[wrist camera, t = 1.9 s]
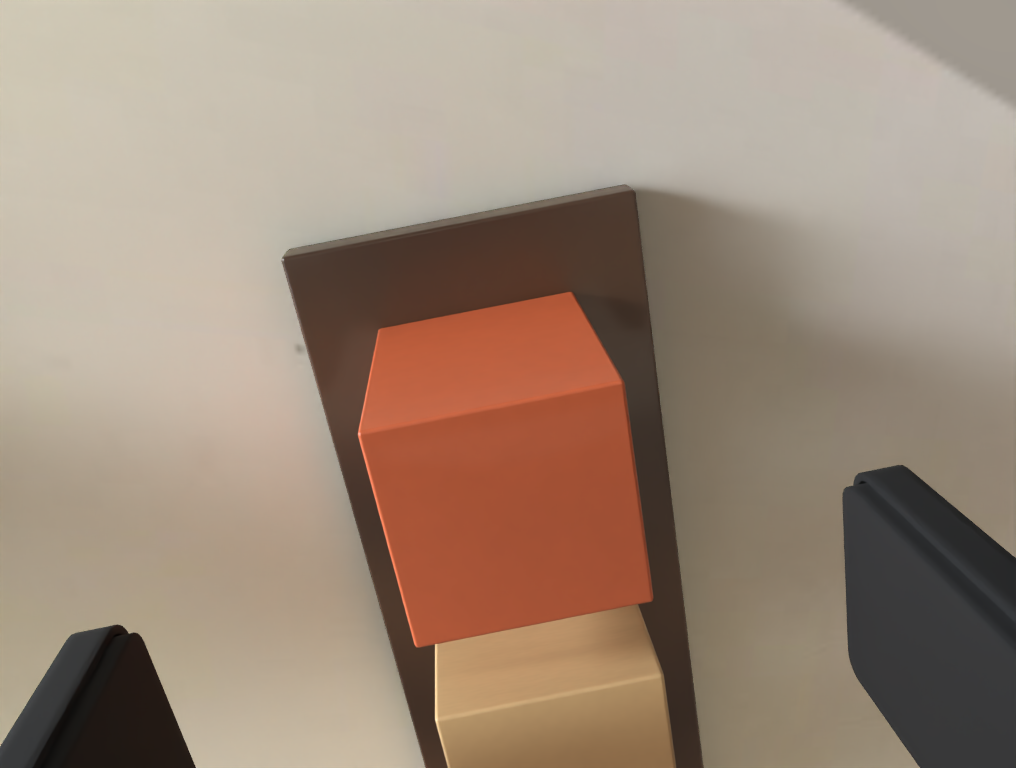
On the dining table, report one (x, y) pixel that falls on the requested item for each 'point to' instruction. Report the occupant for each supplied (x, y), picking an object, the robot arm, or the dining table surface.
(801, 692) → the dining table surface
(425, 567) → the matte orange cube
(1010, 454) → the dining table surface
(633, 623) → the wooden cubes on board
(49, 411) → the dining table surface
